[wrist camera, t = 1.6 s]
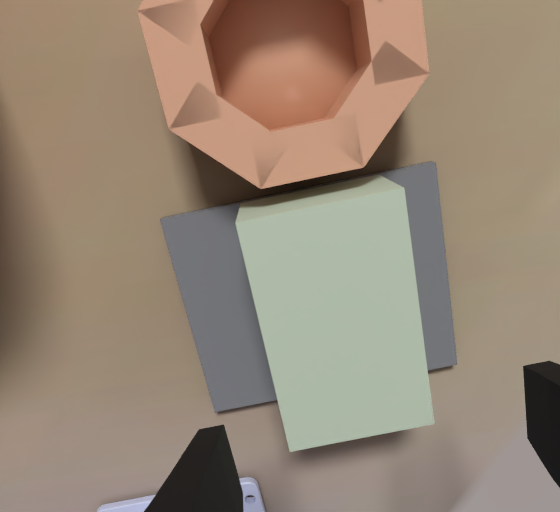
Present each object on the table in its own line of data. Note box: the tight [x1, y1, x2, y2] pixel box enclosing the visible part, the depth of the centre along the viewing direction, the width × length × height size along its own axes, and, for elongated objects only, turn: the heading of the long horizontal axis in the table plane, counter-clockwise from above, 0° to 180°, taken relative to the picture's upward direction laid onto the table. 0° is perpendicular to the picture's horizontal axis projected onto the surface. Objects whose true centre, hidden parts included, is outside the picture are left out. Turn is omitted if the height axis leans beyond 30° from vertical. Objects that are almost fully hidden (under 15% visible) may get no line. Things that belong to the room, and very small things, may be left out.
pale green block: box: [235, 175, 434, 452], centre depth 18 cm, size 9×6×4 cm, turn 12°
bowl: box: [138, 0, 429, 189], centre depth 16 cm, size 8×8×3 cm
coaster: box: [160, 161, 457, 412], centre depth 20 cm, size 9×11×1 cm
